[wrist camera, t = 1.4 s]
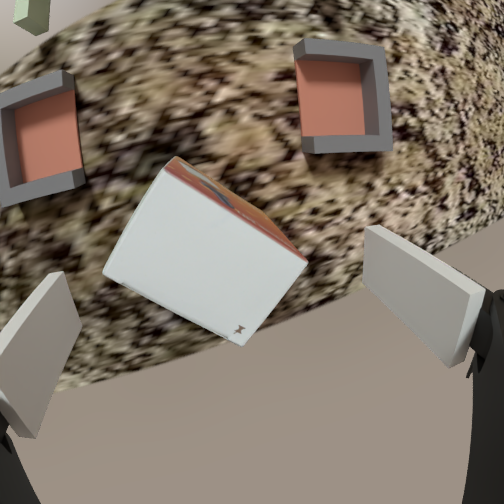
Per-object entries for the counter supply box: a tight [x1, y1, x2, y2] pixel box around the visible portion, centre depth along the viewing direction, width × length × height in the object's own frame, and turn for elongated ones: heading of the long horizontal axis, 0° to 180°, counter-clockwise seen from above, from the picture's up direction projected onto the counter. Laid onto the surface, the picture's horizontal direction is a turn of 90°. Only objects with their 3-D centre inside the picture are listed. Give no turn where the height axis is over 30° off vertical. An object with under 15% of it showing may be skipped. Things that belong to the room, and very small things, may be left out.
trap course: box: [0, 0, 393, 208], centre depth 17 cm, size 30×20×4 cm
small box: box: [103, 156, 308, 347], centre depth 19 cm, size 8×6×10 cm
